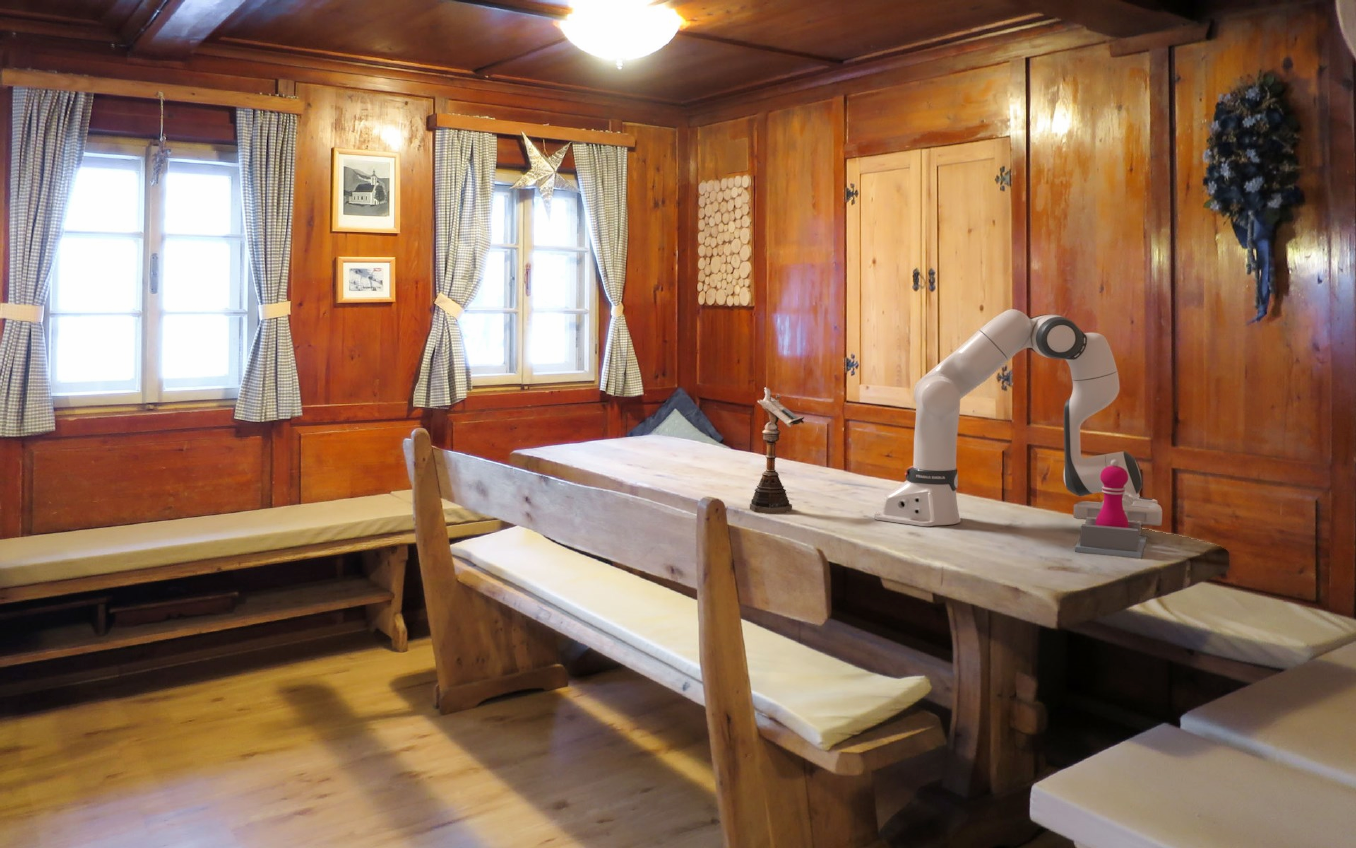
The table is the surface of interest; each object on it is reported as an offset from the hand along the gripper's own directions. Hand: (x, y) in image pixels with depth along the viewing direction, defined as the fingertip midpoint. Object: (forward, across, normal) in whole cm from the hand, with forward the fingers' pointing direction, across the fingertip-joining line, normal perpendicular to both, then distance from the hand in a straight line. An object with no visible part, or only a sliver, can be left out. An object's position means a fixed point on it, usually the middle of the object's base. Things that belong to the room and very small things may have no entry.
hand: (1114, 518), depth 246 cm
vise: (+6, 0, +6) cm, 8 cm away
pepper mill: (+9, 0, +5) cm, 10 cm away
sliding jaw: (+4, 0, +4) cm, 6 cm away
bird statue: (0, -87, +6) cm, 87 cm away
